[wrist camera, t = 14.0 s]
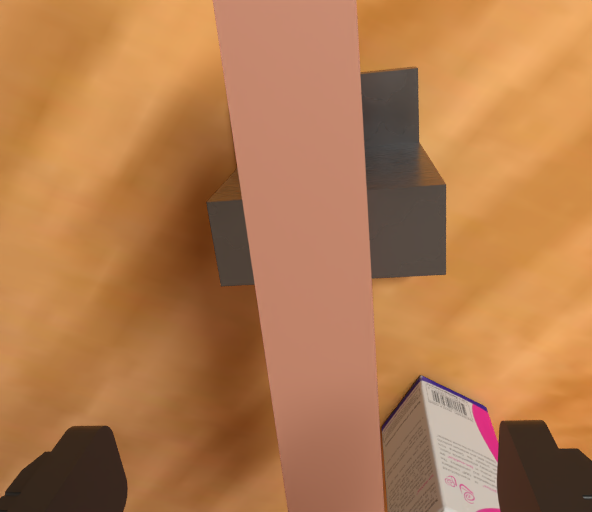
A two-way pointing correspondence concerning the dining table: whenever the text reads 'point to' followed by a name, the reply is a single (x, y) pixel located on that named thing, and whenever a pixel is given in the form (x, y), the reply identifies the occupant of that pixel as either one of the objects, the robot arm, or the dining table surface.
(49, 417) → the dining table surface
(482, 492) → the supplement box
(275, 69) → the batten
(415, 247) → the stand
